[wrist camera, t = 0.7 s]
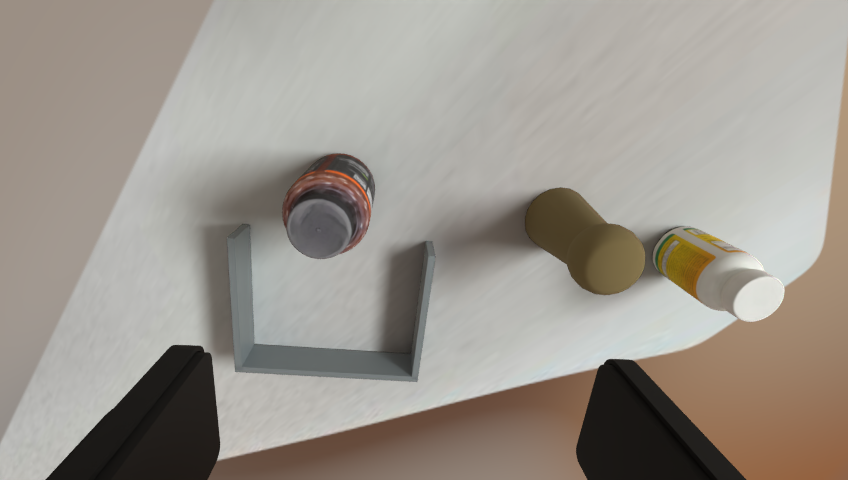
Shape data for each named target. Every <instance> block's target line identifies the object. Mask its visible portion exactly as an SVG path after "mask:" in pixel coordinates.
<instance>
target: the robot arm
mask: <svg viewBox="0 0 848 480" xmlns="http://www.w3.org/2000/svg"><path fill="white" fill-rule="evenodd" d="M219 451H220V437H219V427H218V416H217V406H216V396H215V386H214V375H213V365H212V357H211V354H210V353H204V349H203V347H201V346H191V345H173V346H171V347H170V348H169V349H168V350H167V351H166V352H165V353H164V354H163V355H162V356H161V357H160V359H159V360H158V361H157V362H156V363H155V364H154V365H153V366H152V367H151V368H150V369H149V371H148V372H147V373H146V374H145V375H144V376H143V377H142V378H141V379H140V380H139V381H138V383H137V384H136V385H135V386H134V387H133V388H132V389H131V390H130V391H129V392H128V393H127V394H126V396H125V397H124V398H123V399H122V400H121V401H120V402H119V403H118V404H117V405H116V406H115V408H114V409H112V410H111V411H110V412H108V413H107V414H106V415H105V416H104V417H103V418H102V419H101V420H100V421H99V423H98V424H97V425H96V426H95V427H94V428H93V429H92V430H91V431H90V432H89V433H88V434H87V435H86V437H85V438H84V439H83V440H82V441H81V442H80V443H79V444H78V445H77V446H76V447H75V448H74V450H73V451H72V452H71V453H70V454H69V455H68V456H67V457H66V458H65V459H64V460H63V461H62V462H61V464H60V465H59V466H58V467H57V468H56V469H55V470H54V471H53V472H52V473H51V474H50V475H49V477H48V478H47V479H46V480H207V479H208V477H209V475H210V473H211V471H212V469H213V467H214V465H215V463H216V461H217V458H218V455H219ZM576 454H577V459H578V462H579V464H580V466H581V468H582V470H583V472H584V474H585V476H586V478H587V480H746V479H745V478H744V477H743V476H742V475H741V474H740V472H739V471H738V470H737V469H736V468H735V467H734V466H733V465H732V464H731V463H730V462H729V461H728V460H727V459H726V458H725V457H724V455H723V454H722V453H721V452H720V451H719V450H718V449H717V448H716V447H715V446H714V445H713V444H712V443H711V442H710V441H709V440H708V438H707V437H705V435H704V434H703V433H702V432H701V431H700V430H699V429H698V428H697V427H696V426H695V425H694V424H693V423H692V422H691V420H690V419H689V418H688V417H687V416H686V415H685V414H684V413H683V412H682V411H681V410H680V409H679V408H678V407H677V406H676V405H675V404H674V403H673V401H672V400H671V399H670V398H669V397H668V396H667V395H666V394H665V393H664V392H663V391H662V390H661V389H660V388H659V387H658V386H657V385H656V384H655V382H654V381H653V380H652V379H651V378H650V377H649V376H648V375H647V374H646V373H645V372H644V371H643V370H642V369H641V368H640V367H639V365H637V363H635V362H634V361H633V360H624V359H609V360H607V361H606V362H605V363H604V365H601V366H600V367H599V368H598V371H597V375H596V378H595V382H594V385H593V389H592V393H591V396H590V400H589V403H588V407H587V411H586V414H585V418H584V421H583V425H582V429H581V432H580V436H579V439H578V443H577V448H576Z"/></svg>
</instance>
